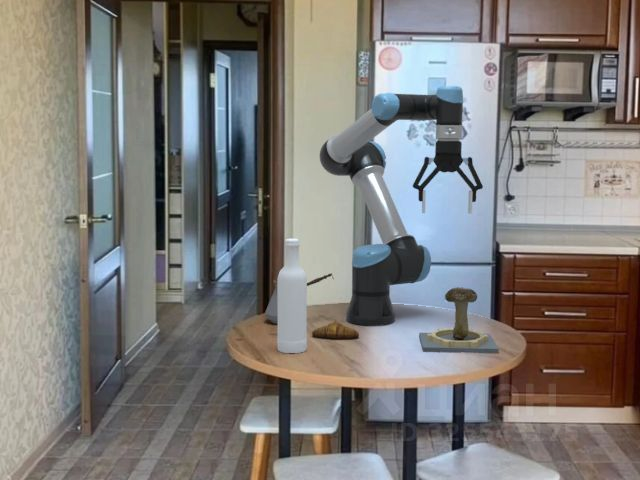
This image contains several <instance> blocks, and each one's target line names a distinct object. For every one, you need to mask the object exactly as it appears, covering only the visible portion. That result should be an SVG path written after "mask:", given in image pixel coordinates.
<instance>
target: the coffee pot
mask: <svg viewBox="0 0 640 480" xmlns="http://www.w3.org/2000/svg"><path fill="white" fill-rule="evenodd" d="M329 277H332V280H335V278H334V275H333V273H328V274H327V275H325V274H324V275H323V276H320V277H317V278H315V279H313V280H311V281H309V282H308V281H307V287H309V286H312V285H314V284H317V283H320V282H321V281H323V280H327V278H329ZM272 282H273V284H274V286H275V288H274V290H273V293H272V295H271V297H270V299H269V302H268V305H267V306H266V307H267V308H266V309H265V312H264V315H265V316H266V318H267V319H268V320H269V321H270V322H271V323H272V324H276V325H278V305H277V279H274V280H273V281H272Z"/></svg>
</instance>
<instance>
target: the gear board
mask: <svg viewBox="0 0 640 480" xmlns="http://www.w3.org/2000/svg"><path fill="white" fill-rule="evenodd" d="M453 329H454V328H437V330H435V331H433V332H419V333H418V334H419V335H418V337H419V342H420V346H421V350H422V352H423V353H425V352H426V353H461V352H478V353H477V354H499V352H500V351H499V350H500V349H499V347H498V345H497V343H496V342H495V340H494V338H493V337H492V335H491V333H481V332H478V331H476V330H473V329H469V328H468V329H469V332H468V335H467V337H465V339H464V340H463V341H457V340H455V339H454V338H453Z"/></svg>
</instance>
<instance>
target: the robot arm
mask: <svg viewBox="0 0 640 480" xmlns="http://www.w3.org/2000/svg"><path fill="white" fill-rule="evenodd" d="M463 91H464V90H463V88H462V87H461V86H454V85H445V86H444V85H443V86H439V87H437V88H436V93H435V94H415V93H413V94H412V93H411V94H409V93H394V92H393V93H392V92H385V93H378V94H377V95H376V96H374V98H373V101H371V108H370V109H369V110H368V111H366V112H365V113H364V114H363V115H361V116H360V117H359V118H358V119H356V120H355V121H354V122H353V123H352V124H351V125H349V126H348V127H347V128H346V129H344V130H343V131H342V132H341V133H339V134H338V135H332V136H331V137H329V138H328V139H327V140H326V141H325V142H324V143H323V144H322V146H321V148H320V151H319V162H320V164H321V166H322V167H323V169H324V170H325V171H326V173H329V174H331V175H334V176H339V177H341V176H342V177H344V176H348V177H350V180H351V182H352V185H354V186H356V187H358V188H359V191H360V193H361V195H362V197H363V199H364V202H365V204H366V206H367V209H368V211H369V214H370V216H371V218H372V222H373V224H374V226H375V228H376V230H377V233H378V235H379V239H380V240H381V242H382V243H376V244H373V243H372V244H367V245H366V244H365V245H362V246H359V247H357V248H355V249H354V251H353V253H352V261H351V265H352V270H351V271H352V276H351V279H352V281H351V283H352V284H351V286H352V289H351V295H352V296H351V298H350V301H349V303H348V307H347V310H346V317H345V318H346V320H345V321H346V322H348V323H351V324H354V325H360V326H372V327H373V326H374V327H375V326H385V325H390V324H393V323H394V322H395V321H396V313H395V311H394V310H395V309H394V307H393V304H392V301H391V300H392V299H391V296H390V295H391V294H390V291H391V288H390V287H391V286H395V285H406V284H414V283H418V282H422V281H424V280H425V279H426V278H427V277H428V276H429V273H430V271H431V266H432V257H431V253H430V251H429V249H428V248H427V247H426V246H424V245H422V244H418V243H417V240H416V238H415V237H414V235H411V234H408V232H407V230H406V227H405V225H404V223H403V221H402V218H401V215H400V213H399V212H398V208H397V207H396V204H395V202H394V199H393V197H392V196H391V193H390V190H389V189H388V187H387V184H386V182H385V179H384V177H383V176H384V174H385V169H386V165H387V161H386V159H387V157H386V154H385V150H384V148H383V147H382V146H381V145H380V144H379V143H377V142H375V141H372V140H373V139H374V138H375V137H377V136H378V135H380V134H381V133H382V132H383V131H385V130H386V129H388V128H389V127H390V126H392V125H393V124H394V123H395V122H397V121H418V122H419V121H422V122H425V121H436V122H435V139H436V141H435V146H434V147H435V149H434V150H435V151H434V153H435V155H434V157H428V156H425V157H424V160H423V164H422V167H420V168H421V169H420V171H419V172H418V175H417V176H416V179H415V180H414V181H413V184H412V188H413V189H416V190H418V201H419V202H421V212H422V213H421V214H426V198H427V197H426V192H427V191H426V190H424V189H425V188H426V187H427V186H428V185H429V183H430V182H431V181H432V180H433V179H434V178H435V177H436V176H437V175H438V174H439V172H441V173H455V172H457V173H458V175H459V176H460V177H461V179H462V180H463V181H464V182H465V183H466V185H467V186H468V187H469V188H470V189H471V190H468V206H467V208H468V209H467V211H468V212H467V213H468V214H471V215H472V214H473V203H475V202H476V201H477V191H478V190H482V189H483V187H484V186H483V183H482V182H481V180H480V177H479V175H478V173H477V171H476V169H475V166H474V165H473V164H474V163H473V157H470V156H467V157H462V145H463V144H462V141H460V140H461V139H462V138H463V137H462V136H463V110H464V109H463V107H464V94H463ZM432 163H434V164H435V168H434V169H433V170H432V171H431V172H430V173H429V175H428V176H427V177H426V178H425V179H424V180H423V182H422V183H421V184H420V182H421V180H422V179H423V176H424V175H425V173H426V171H427V169H428V167H429V166H430V165H431V164H432ZM462 163H464V164H465V165H466V166H467V168H468V170H469V172H470V174H471V176H472V178H473V181H474V183H475V184H476V185H474V183H473V182H472V181H471V179H470V178H469V177H468V176H467V175H466V174H465V172H464V171H463V170H462V169H461V167H460V166H461V165H462ZM419 184H420V185H419Z"/></svg>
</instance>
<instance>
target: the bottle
mask: <svg viewBox="0 0 640 480" xmlns="http://www.w3.org/2000/svg"><path fill="white" fill-rule="evenodd" d="M300 246H301V245H300V240H299V238H286V239H285V241H284V249H285V251H284V252H285V253H284V254H285V255H284V256H285V257H284V258H285V259H284V264H285V265H284V266H283V267H282V268H281V269H280V270H279V273H278V276H277V279H276V280H277V305H278V324H277V339H276V346H277V351H278V352H280V353H283V354H289V353H295V354H300V353H301V352H302V353H304V352H306V351H307V349H308V348H307V345H308V337H307V336H308V335H307V334H308V333H307V331H308V330H307V329H308V328H307V327H308V326H307V325H308V321H307V320H308V319H307V316H308V314H307V309H308V306H307V302H308V300H307V299H308V298H307V297H308V295H307V294H308V290H307V287H308V286H307V283H308V278H307V274H306V272H305V270H304V269H303V268H302V267H301V266H300Z"/></svg>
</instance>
